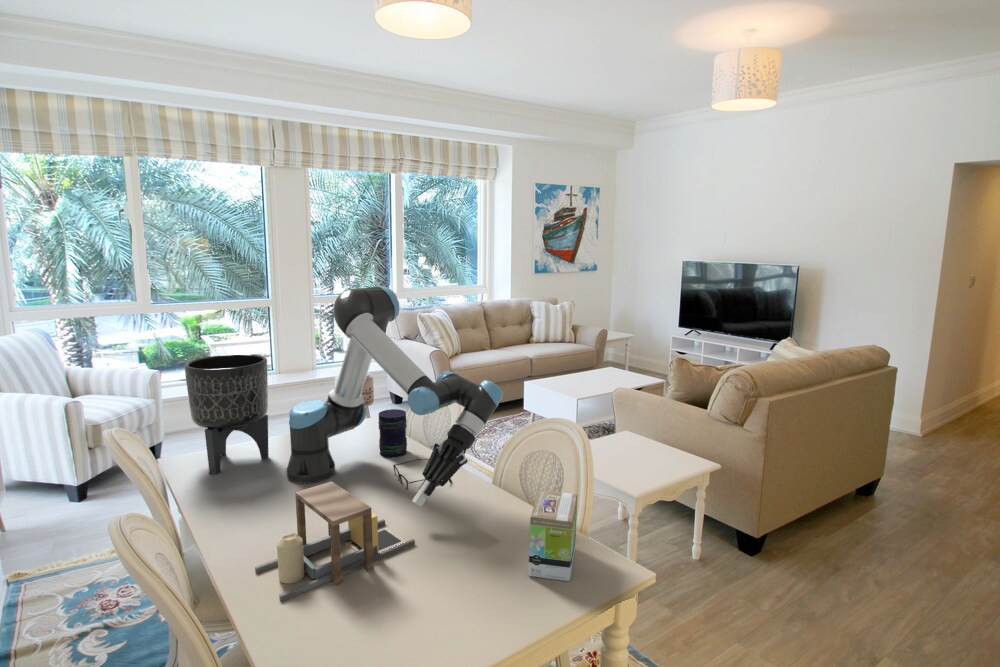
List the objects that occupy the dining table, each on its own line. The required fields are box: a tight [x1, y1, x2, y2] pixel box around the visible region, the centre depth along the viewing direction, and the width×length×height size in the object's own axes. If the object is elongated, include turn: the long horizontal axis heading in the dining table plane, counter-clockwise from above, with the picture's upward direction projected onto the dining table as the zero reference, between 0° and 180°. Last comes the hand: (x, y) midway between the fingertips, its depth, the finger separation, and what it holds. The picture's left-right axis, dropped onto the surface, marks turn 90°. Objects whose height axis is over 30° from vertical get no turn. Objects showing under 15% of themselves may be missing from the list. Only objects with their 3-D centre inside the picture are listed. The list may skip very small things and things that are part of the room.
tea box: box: [527, 490, 578, 582], centre depth 135 cm, size 15×10×15 cm, turn 168°
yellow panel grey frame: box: [303, 512, 379, 580], centre depth 136 cm, size 12×16×10 cm
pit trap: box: [345, 527, 406, 553], centre depth 144 cm, size 10×12×1 cm
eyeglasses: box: [392, 458, 453, 490], centre depth 183 cm, size 16×16×4 cm
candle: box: [276, 532, 305, 585], centre depth 128 cm, size 6×6×10 cm
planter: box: [184, 353, 270, 475], centre depth 193 cm, size 25×25×36 cm
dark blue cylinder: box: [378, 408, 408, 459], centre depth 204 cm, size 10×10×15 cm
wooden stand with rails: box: [254, 481, 416, 602], centre depth 136 cm, size 20×34×15 cm, turn 133°
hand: (416, 504), depth 151 cm, fingers closed
